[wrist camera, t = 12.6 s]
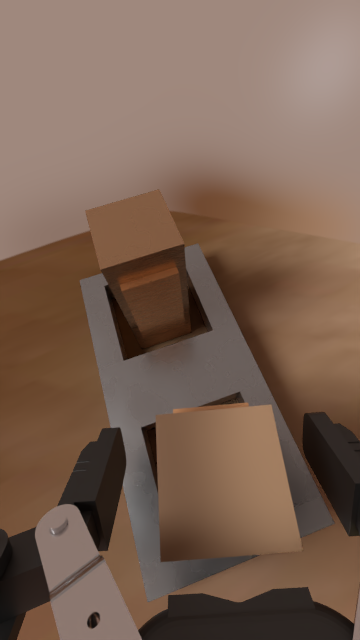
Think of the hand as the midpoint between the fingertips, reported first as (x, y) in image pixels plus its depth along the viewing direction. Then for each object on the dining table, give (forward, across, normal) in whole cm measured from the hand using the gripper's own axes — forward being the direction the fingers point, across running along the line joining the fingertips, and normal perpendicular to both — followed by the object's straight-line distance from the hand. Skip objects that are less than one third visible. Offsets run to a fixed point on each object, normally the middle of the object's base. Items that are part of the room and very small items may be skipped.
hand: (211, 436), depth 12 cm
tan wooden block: (+4, 0, +6) cm, 7 cm away
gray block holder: (+8, +2, +2) cm, 8 cm away
